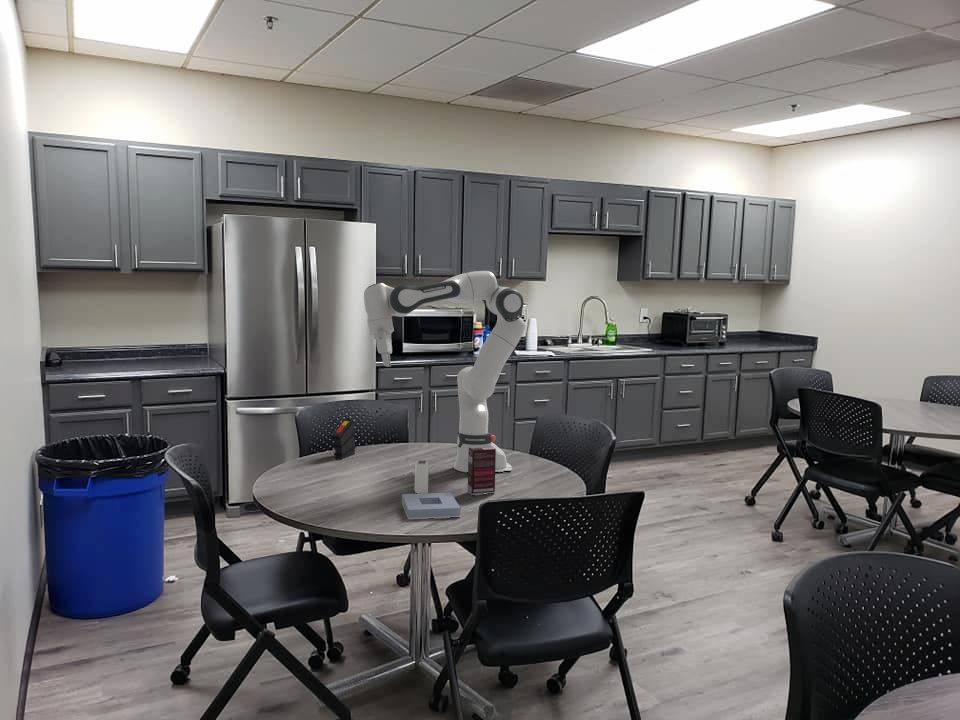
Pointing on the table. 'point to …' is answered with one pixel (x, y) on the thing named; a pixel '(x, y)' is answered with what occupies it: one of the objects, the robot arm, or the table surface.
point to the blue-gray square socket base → (430, 505)
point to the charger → (421, 477)
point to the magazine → (344, 439)
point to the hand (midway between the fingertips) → (387, 366)
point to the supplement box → (481, 470)
